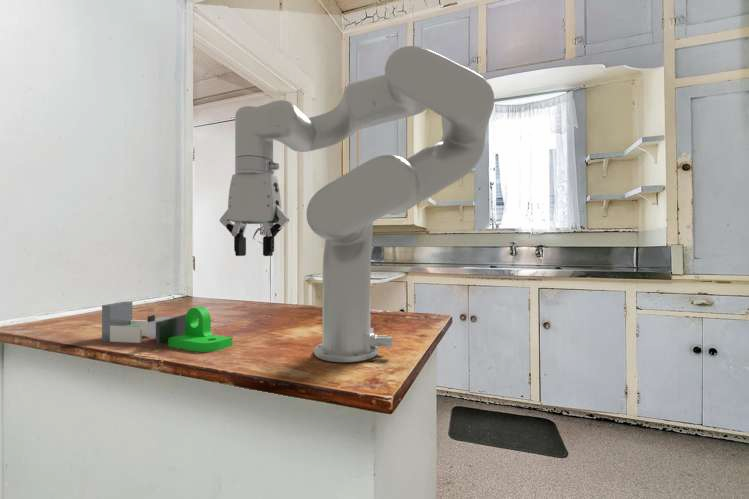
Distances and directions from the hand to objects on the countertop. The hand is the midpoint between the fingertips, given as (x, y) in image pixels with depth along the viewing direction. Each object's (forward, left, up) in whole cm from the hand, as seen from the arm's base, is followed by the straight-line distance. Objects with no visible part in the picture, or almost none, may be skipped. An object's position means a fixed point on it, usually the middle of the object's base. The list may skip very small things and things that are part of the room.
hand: (254, 254), depth 72 cm
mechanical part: (+12, 0, -20) cm, 23 cm away
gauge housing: (+31, -3, -19) cm, 37 cm away
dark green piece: (+22, -1, -19) cm, 29 cm away
